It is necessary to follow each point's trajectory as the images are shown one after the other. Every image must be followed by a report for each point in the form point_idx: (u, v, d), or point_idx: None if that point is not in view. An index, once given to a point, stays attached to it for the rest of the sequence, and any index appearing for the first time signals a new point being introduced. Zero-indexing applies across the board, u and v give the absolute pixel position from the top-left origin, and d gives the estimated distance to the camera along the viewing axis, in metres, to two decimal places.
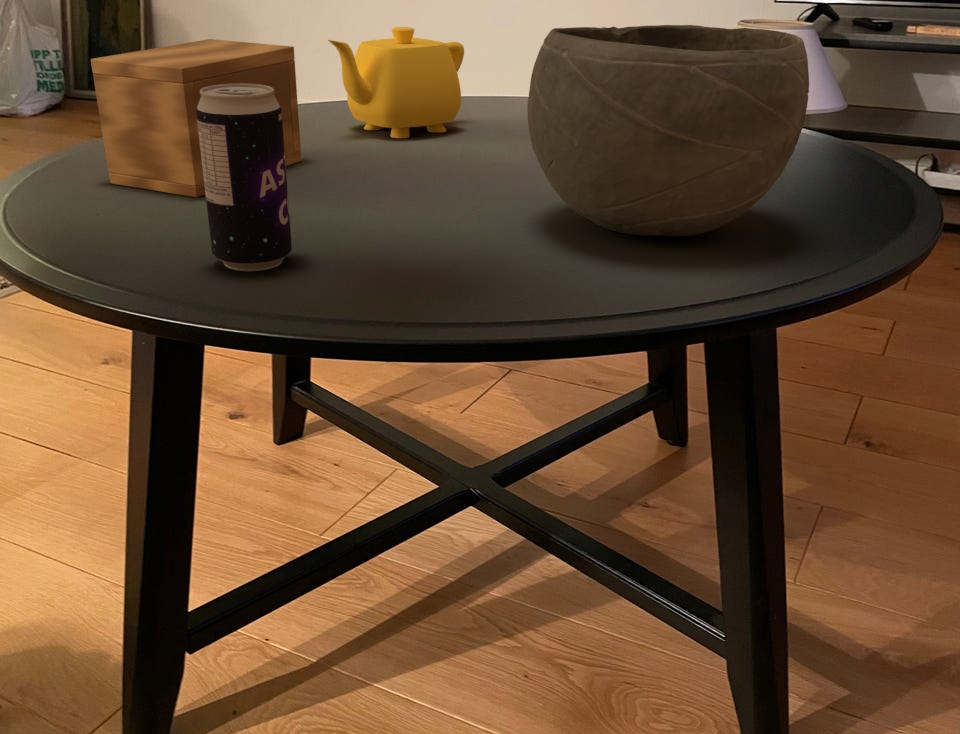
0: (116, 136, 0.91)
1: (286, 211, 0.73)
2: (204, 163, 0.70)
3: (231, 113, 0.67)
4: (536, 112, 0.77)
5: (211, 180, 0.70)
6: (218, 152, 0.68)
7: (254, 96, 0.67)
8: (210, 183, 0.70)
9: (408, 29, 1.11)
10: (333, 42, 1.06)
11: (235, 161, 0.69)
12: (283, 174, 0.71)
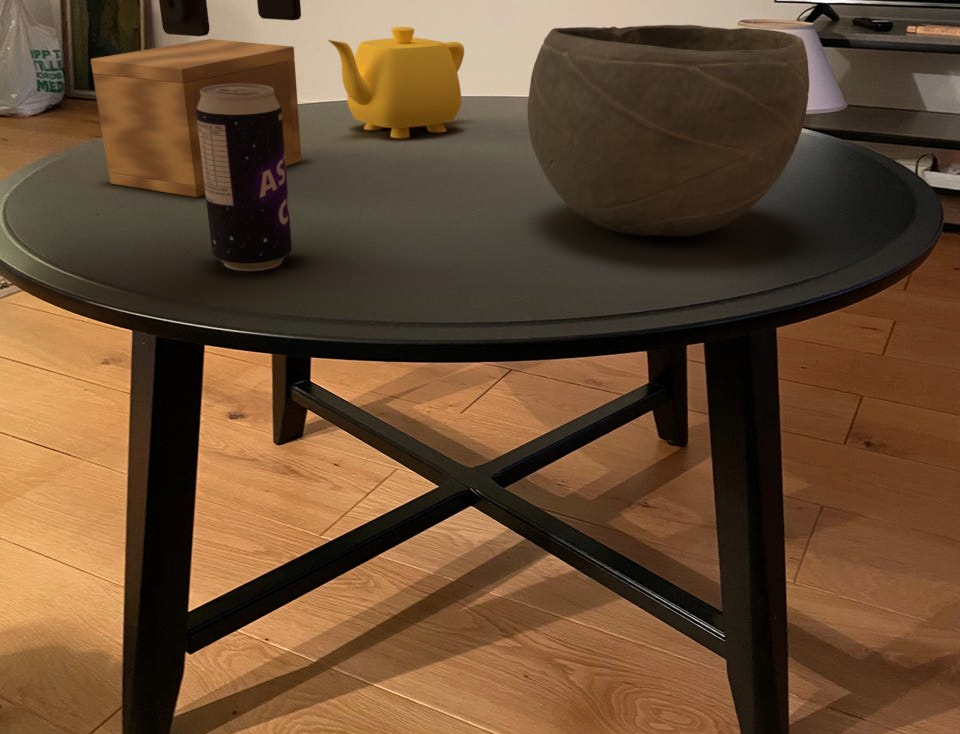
0: (116, 136, 0.91)
1: (286, 211, 0.73)
2: (204, 163, 0.70)
3: (231, 113, 0.67)
4: (536, 112, 0.77)
5: (211, 180, 0.70)
6: (218, 152, 0.68)
7: (254, 96, 0.67)
8: (211, 183, 0.70)
9: (408, 29, 1.11)
10: (333, 42, 1.06)
11: (235, 161, 0.69)
12: (283, 174, 0.71)
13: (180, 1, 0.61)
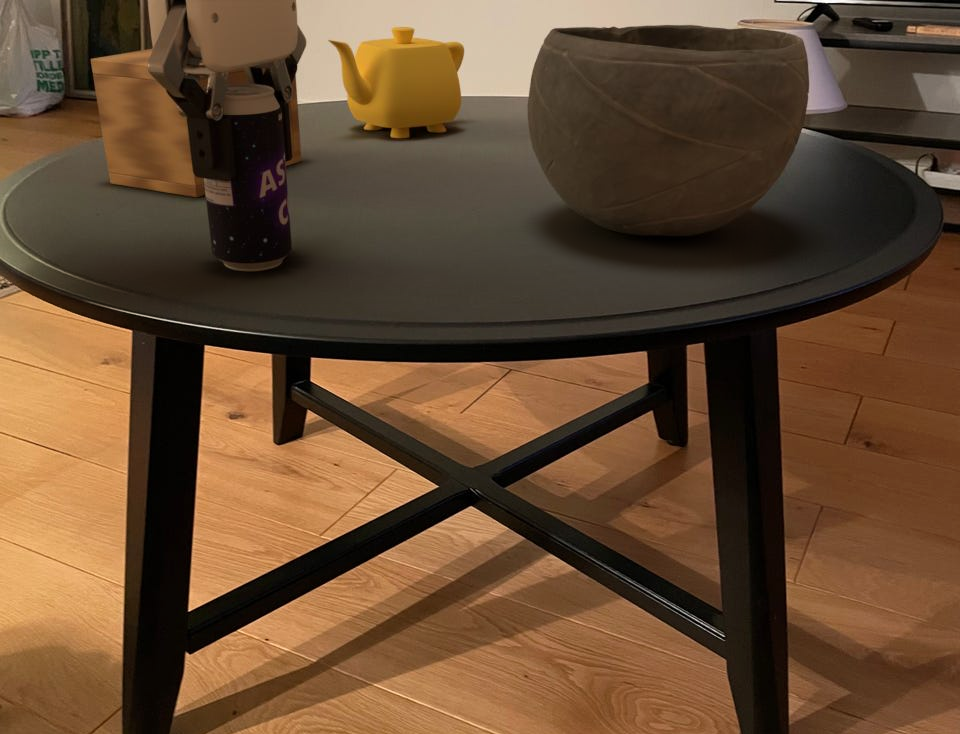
0: (116, 136, 0.91)
1: (286, 211, 0.73)
2: None
3: (231, 113, 0.67)
4: (536, 112, 0.77)
5: (211, 180, 0.70)
6: None
7: (254, 96, 0.67)
8: (210, 183, 0.70)
9: (408, 29, 1.11)
10: (333, 42, 1.06)
11: (235, 161, 0.69)
12: (283, 174, 0.71)
13: (210, 152, 0.67)
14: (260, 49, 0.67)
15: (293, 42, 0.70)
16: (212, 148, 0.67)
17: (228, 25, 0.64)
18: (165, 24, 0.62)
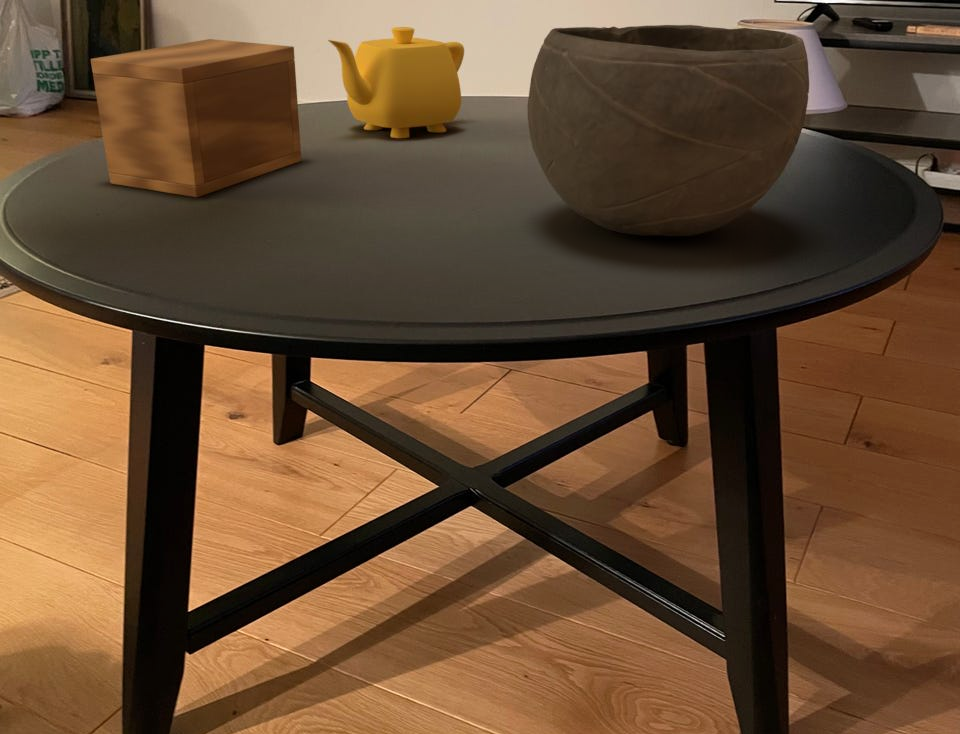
0: (116, 136, 0.91)
1: None
2: None
3: None
4: (536, 112, 0.77)
5: None
6: None
7: None
8: None
9: (408, 29, 1.11)
10: (333, 42, 1.06)
11: None
12: None
13: None
14: None
15: None
16: None
17: None
18: None
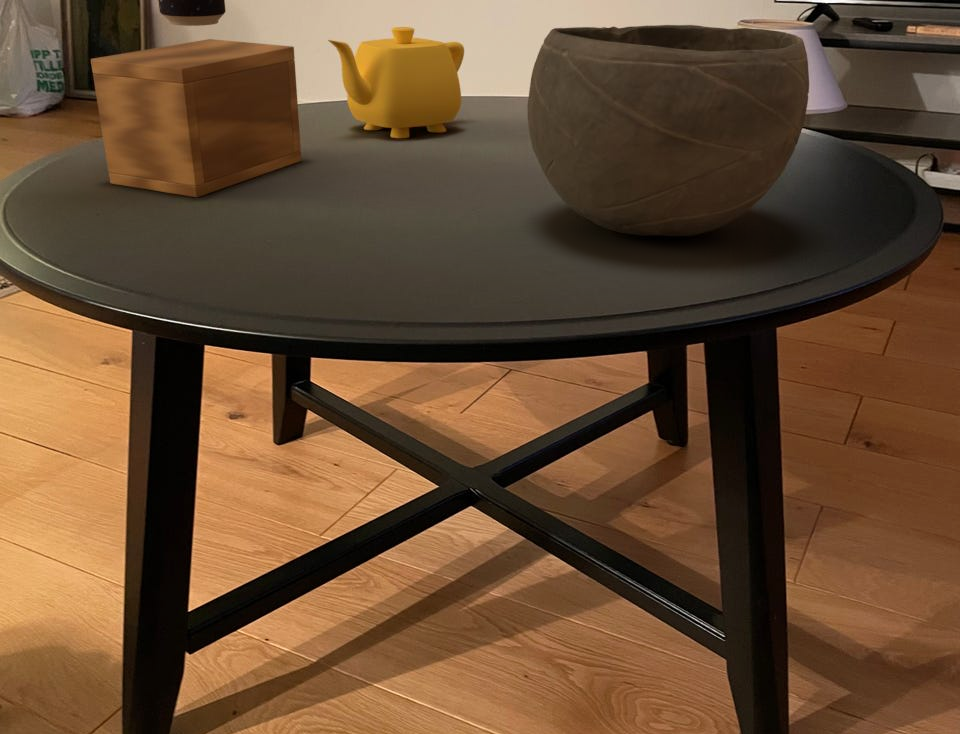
0: (116, 136, 0.91)
1: None
2: None
3: None
4: (536, 112, 0.77)
5: None
6: None
7: None
8: None
9: (408, 29, 1.11)
10: (333, 42, 1.06)
11: None
12: None
13: None
14: None
15: None
16: None
17: None
18: None
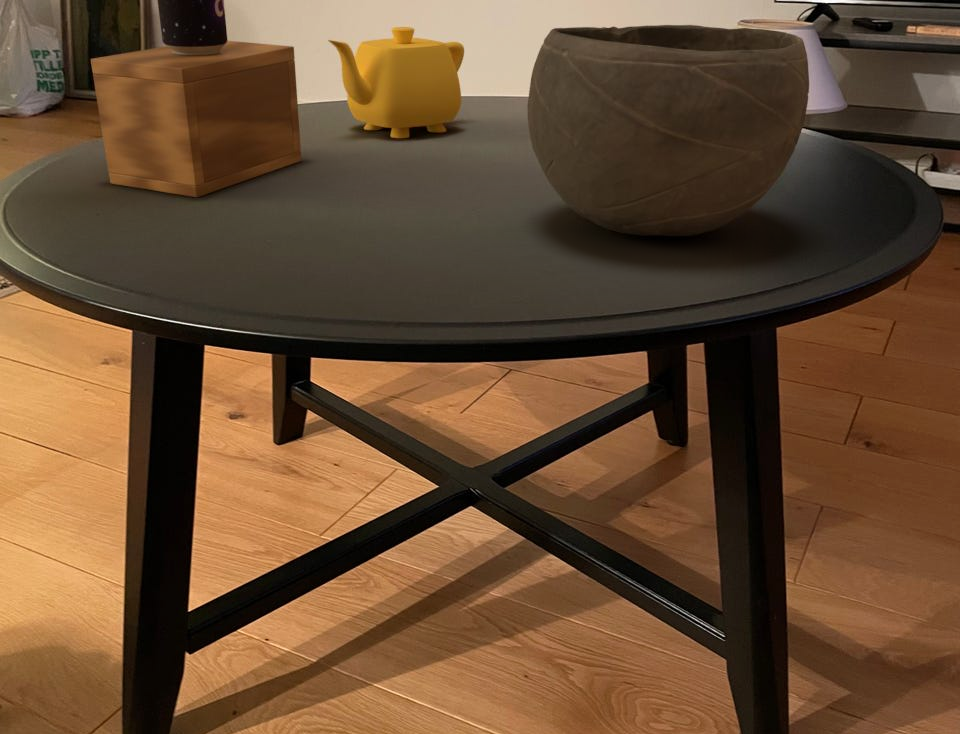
0: (116, 136, 0.91)
1: (221, 6, 0.90)
2: None
3: None
4: (536, 112, 0.77)
5: None
6: None
7: None
8: None
9: (408, 29, 1.11)
10: (333, 42, 1.06)
11: None
12: None
13: None
14: None
15: None
16: None
17: None
18: None
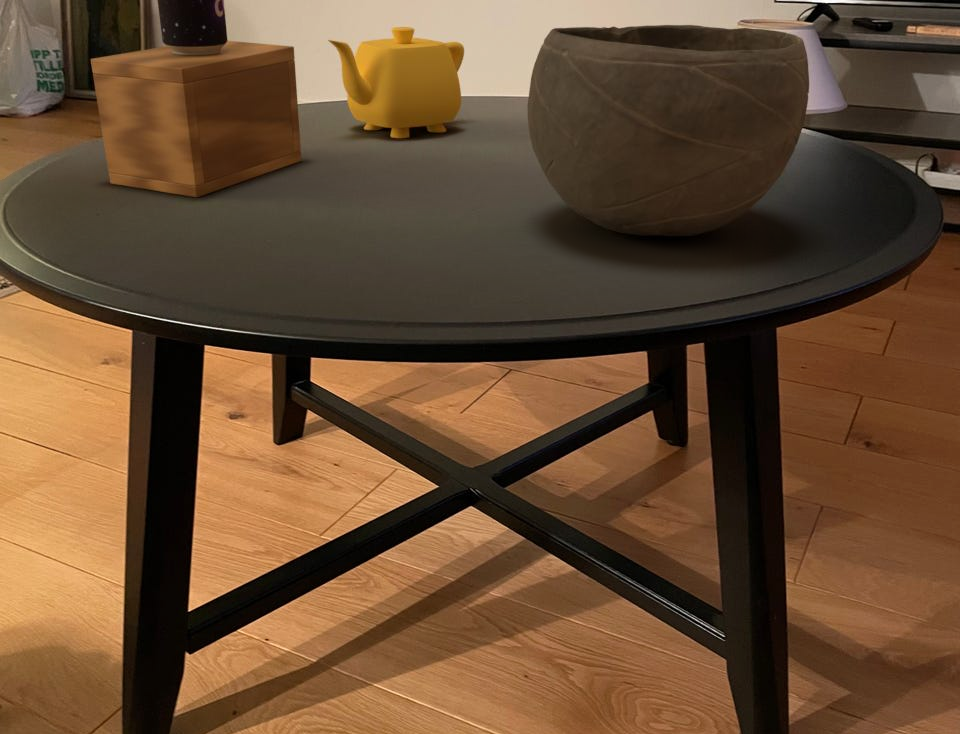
0: (116, 136, 0.91)
1: (221, 6, 0.90)
2: None
3: None
4: (536, 112, 0.77)
5: None
6: None
7: None
8: None
9: (408, 29, 1.11)
10: (333, 42, 1.06)
11: None
12: None
13: None
14: None
15: None
16: None
17: None
18: None
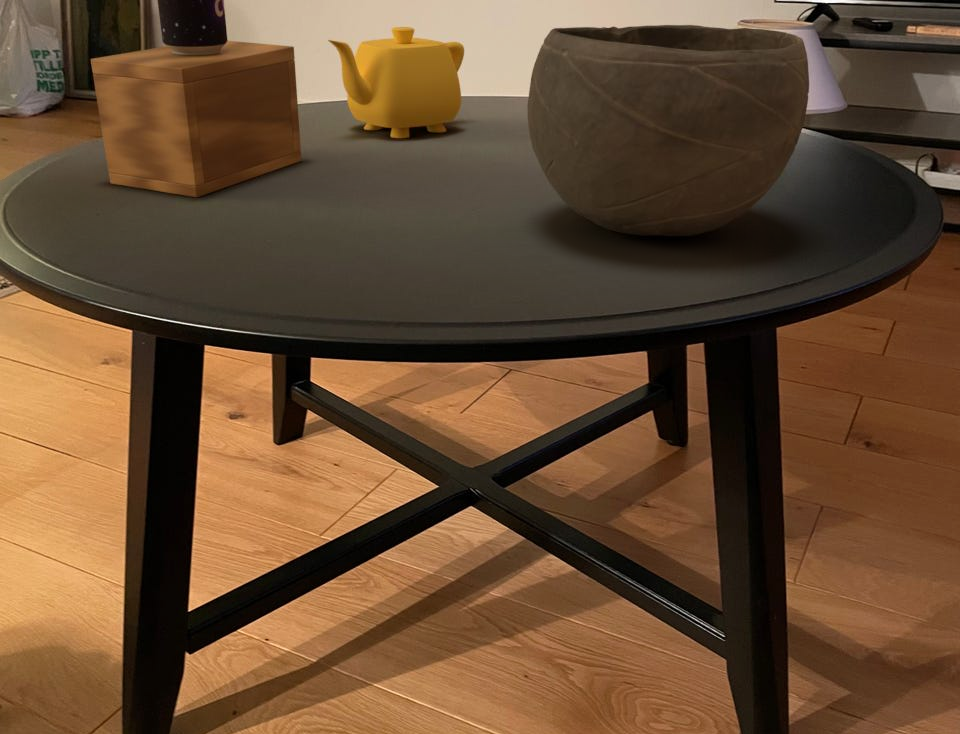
0: (116, 136, 0.91)
1: (221, 6, 0.90)
2: None
3: None
4: (536, 112, 0.77)
5: None
6: None
7: None
8: None
9: (408, 29, 1.11)
10: (333, 42, 1.06)
11: None
12: None
13: None
14: None
15: None
16: None
17: None
18: None
